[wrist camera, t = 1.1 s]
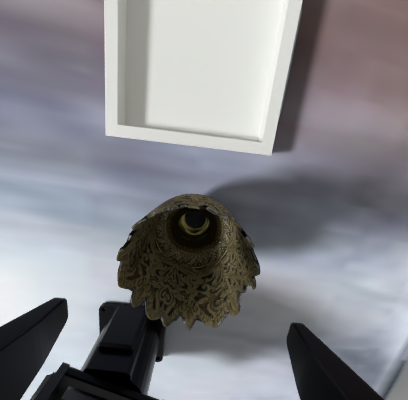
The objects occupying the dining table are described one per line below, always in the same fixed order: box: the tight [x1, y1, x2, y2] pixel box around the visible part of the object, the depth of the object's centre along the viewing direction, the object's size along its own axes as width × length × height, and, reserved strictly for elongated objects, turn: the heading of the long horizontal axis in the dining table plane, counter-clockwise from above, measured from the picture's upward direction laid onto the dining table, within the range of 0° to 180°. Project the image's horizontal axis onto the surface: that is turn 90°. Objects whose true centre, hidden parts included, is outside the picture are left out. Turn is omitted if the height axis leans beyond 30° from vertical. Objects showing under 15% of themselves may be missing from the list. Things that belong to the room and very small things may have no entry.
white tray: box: [104, 0, 303, 155], centre depth 15 cm, size 12×12×2 cm
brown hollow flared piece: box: [117, 194, 260, 330], centre depth 15 cm, size 8×7×8 cm
